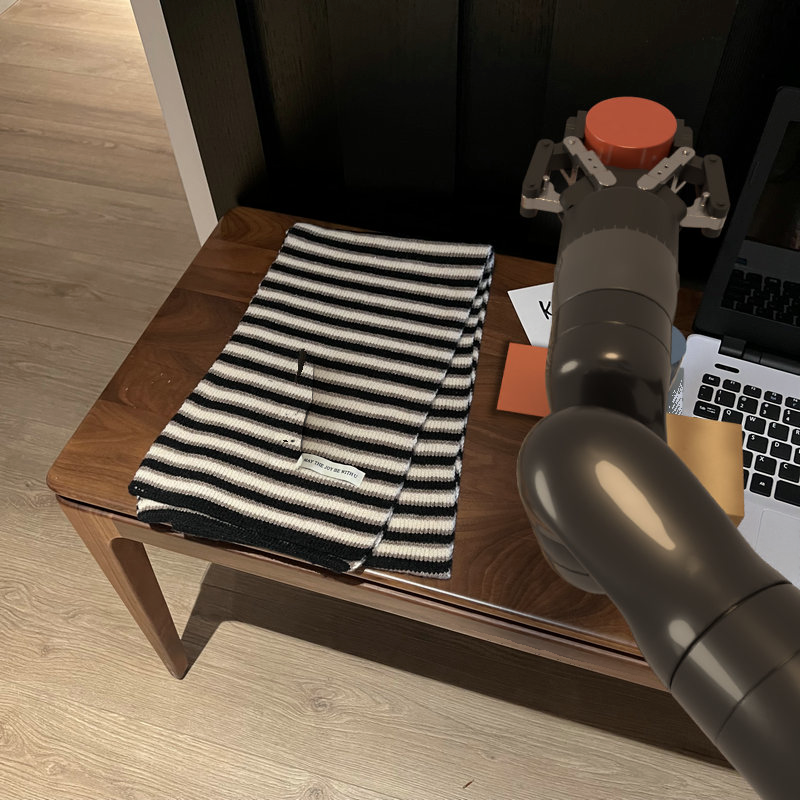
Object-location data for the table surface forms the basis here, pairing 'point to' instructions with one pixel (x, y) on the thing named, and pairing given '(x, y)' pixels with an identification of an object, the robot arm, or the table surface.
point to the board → (541, 382)
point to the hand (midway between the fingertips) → (628, 125)
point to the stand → (712, 458)
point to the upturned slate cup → (676, 354)
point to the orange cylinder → (630, 132)
